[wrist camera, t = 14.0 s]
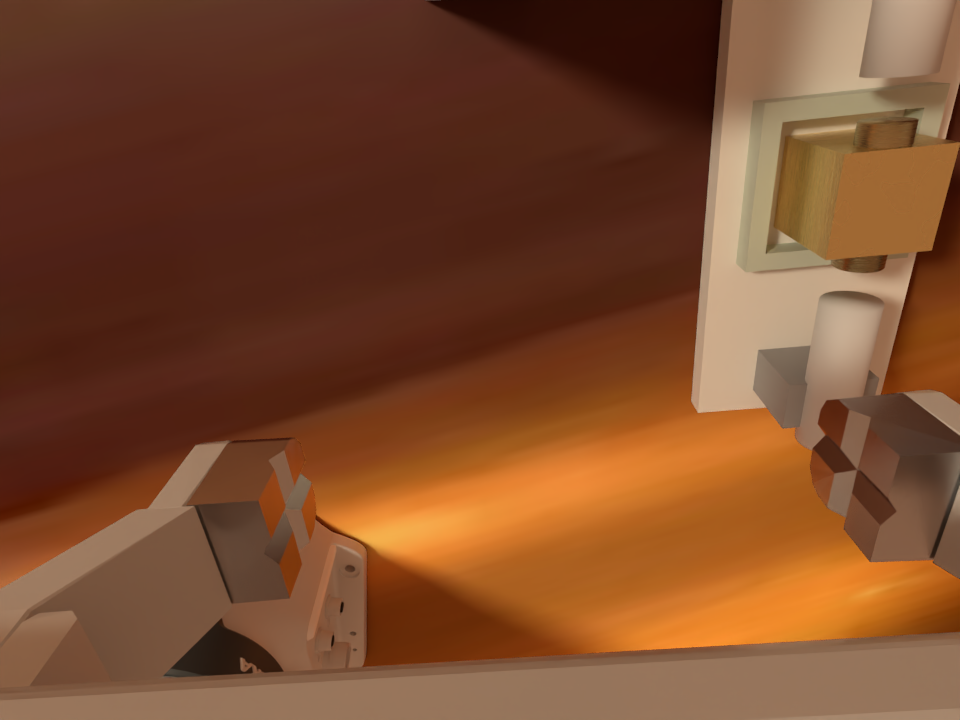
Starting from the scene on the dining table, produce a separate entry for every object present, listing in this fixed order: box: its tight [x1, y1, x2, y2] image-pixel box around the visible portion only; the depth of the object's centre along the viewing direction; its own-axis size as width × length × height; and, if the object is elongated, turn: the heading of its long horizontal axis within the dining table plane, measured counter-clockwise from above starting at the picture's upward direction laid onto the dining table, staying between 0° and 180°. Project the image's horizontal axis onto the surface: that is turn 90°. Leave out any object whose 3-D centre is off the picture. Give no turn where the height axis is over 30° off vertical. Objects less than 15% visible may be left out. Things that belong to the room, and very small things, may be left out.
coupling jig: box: [691, 0, 960, 450], centre depth 31 cm, size 30×12×8 cm, turn 6°
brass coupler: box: [774, 117, 960, 273], centre depth 30 cm, size 7×5×6 cm
